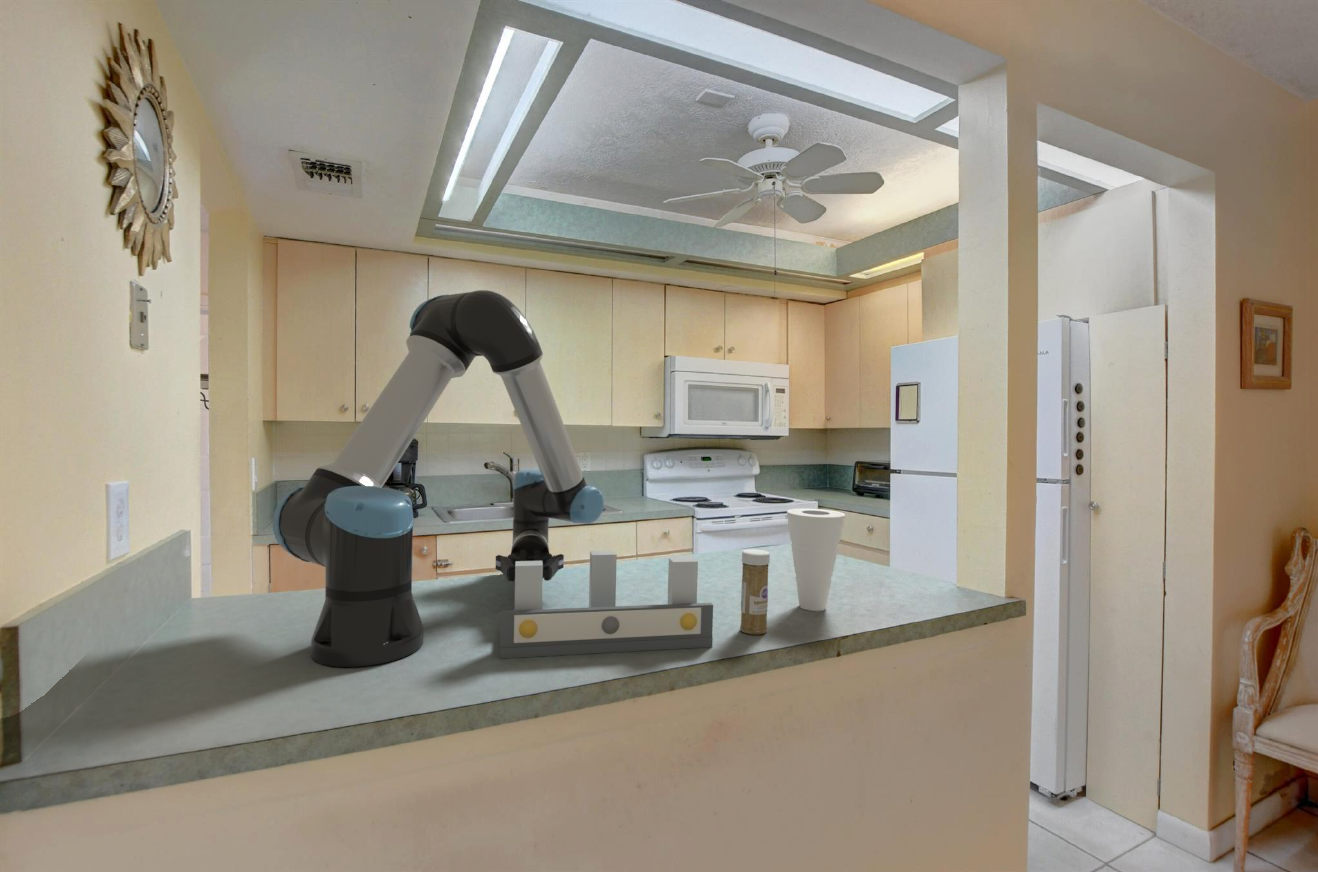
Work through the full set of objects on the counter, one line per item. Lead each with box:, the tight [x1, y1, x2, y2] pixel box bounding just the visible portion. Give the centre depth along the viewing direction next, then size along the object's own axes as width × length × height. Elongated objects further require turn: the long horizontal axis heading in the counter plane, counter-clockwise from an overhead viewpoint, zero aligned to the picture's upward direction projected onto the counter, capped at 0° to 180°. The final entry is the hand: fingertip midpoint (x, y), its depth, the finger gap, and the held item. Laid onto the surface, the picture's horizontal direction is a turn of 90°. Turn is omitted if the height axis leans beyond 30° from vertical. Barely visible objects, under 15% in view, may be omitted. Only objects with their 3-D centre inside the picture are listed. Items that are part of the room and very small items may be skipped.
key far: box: [667, 556, 699, 604], centre depth 100 cm, size 4×3×11 cm
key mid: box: [588, 550, 618, 608], centre depth 104 cm, size 4×3×11 cm
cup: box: [786, 507, 846, 612], centre depth 119 cm, size 11×11×18 cm
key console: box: [498, 602, 714, 660], centre depth 100 cm, size 32×13×6 cm, turn 102°
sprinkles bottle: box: [739, 548, 771, 636], centre depth 105 cm, size 5×5×13 cm
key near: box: [514, 561, 544, 610], centre depth 95 cm, size 4×3×11 cm
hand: (529, 585), depth 104 cm, fingers closed
